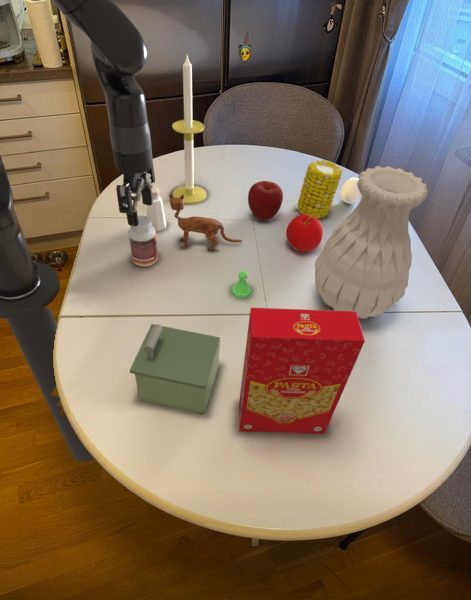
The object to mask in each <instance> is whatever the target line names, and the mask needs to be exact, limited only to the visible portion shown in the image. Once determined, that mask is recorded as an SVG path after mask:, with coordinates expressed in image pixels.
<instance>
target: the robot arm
mask: <svg viewBox="0 0 471 600" xmlns="http://www.w3.org/2000/svg"><path fill="white" fill-rule="evenodd" d="M51 1H52V3H53V4H54V5H55V7H56V8H57V9H58V10H59V12H60V13H62V15H63V16H64V17H65V18H66V19H67V20H68V21H69V22H70V23H71V24H72V25H74V26H75V27H76V28H78V29H79V30H81V31H82V32H83V33H84V34H85V35H86V36H87V38H88V39H89V40H90V43H89V44H90V53H91V57H92V61H93V64H94V67H95V70H96V74H97V77H98V80H99V83H100V85H101V88H102V90H103V93H104V96H105V105H106V112H107V117H108V122H109V125H108V126H109V137H110V143H111V148H112V149H111V150H112V155H113V156H112V157H113V162H114V166H115V168H116V170H118V172H120V173H121V174H122V175H123V176H122V177H123V179H122V184H117V185H116V186H115V191H116V196H117V197H116V198H117V204H118V205H117V206H118V211H119V213H121V214H125V215H126V221H127V225H128V226H129V227H130V226H138V224H139V221H138V216H139V214H138V204H139V203H138V202H140V201H142V204H143V205H145V206H147V205H152V203H153V200H152V191H151V190H152V188H153V187H154V186H153V184H155V183H156V173H155V169H154V168H155V167H154V166H155V165H154V159H153V152H152V151H153V147H152V139H151V131H150V126H149V120H148V112H147V104H146V102H147V101H146V96H145V93H144V90H143V89H142V87H141V86H140V85H139V84H138V82H137V80H136V79H135V78H136V77H135V76H136V75H138V74H140V73H141V72H143V70H144V69H145V67H146V65H147V62H148V48H147V47H148V46H147V44H146V42H145V39H144V37H143V35H142V34H141V32H140V31H139V29H138V28H137V26H136V25H135V24H134V23H133V22H132V20H130V18H129V16H127V15H126V13H124V11H123V10H122V9H121V8H120V7H119V6H118V5H117V4H116V3H115V1H113V0H51ZM132 194H134V195H132ZM14 205H15V204H14V193H13V189H12V186H11V183H10V180H9V177H8V173H7V170H6V167H5V164H4V161H3V159H2V156H1V155H0V299H1V300H4V301H18V300H22V299H25V298H27V297H29V296H31V295H33V294H34V293H35V292H36V291H37V290H38V289H39V287H40V285H41V279H40V277H39V275H38V273H37V270H38V268H37V266H36V265H35V264H34V262H35V261H34V259H33V256H32V253H31V250H30V248H29V245H28V243H27V240H26V236H25V234H24V231H23V229H22V226H21V224H20V221H19V218H18V215H17V213H16V210H15V206H14ZM36 269H37V270H36Z"/></svg>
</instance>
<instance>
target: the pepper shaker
mask: <svg viewBox="0 0 471 600" xmlns="http://www.w3.org/2000/svg"><path fill="white" fill-rule="evenodd" d="M151 191H152V200H153V203H152V205H146V216H147V217H149V218H150V219H151V224H152V226H153V227H154V229H155V232H157V233H158V232H159V233H160V232H161V231H163V230H166V227H167V220H166V214H165V208H164V204H163V199H162V197H161V196H160V189H159V188H158V187H156V186H153V188H152V190H151Z"/></svg>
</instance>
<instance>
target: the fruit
mask: <svg viewBox="0 0 471 600" xmlns="http://www.w3.org/2000/svg"><path fill="white" fill-rule="evenodd" d="M285 230H286V231H285V235H286V236H285V237H286V240H287V242H288V244H289V245H290V247H292V248H293V249H294V250H296V251H299V252H311V251H313V250H315V249H316V248H318V246H319V245H320V243H321V242H322V240H323V236H324V230H323V225H322V223H321V221H320V219H318V218H315V217H313V216H310V215H305V214H302V213H300V214H298V215H296V216H294V217H293V218H292V219H291V220H290V221H289V222H288V224H287V226H286V229H285Z"/></svg>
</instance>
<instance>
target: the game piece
mask: <svg viewBox="0 0 471 600" xmlns="http://www.w3.org/2000/svg"><path fill="white" fill-rule="evenodd" d="M248 277H249V274H248V271H246V270H240V271H239V273H238V281H237V283H235V284H234V285H233V286H232V295H234V296H235V297H237V298H240V299H241V298H242V299H243V298H245V299H246V298H247V297H248V296H250V295H251V286H250V285H249V284H248V283H247V279H248Z"/></svg>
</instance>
